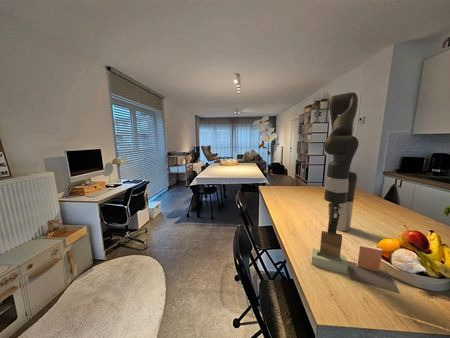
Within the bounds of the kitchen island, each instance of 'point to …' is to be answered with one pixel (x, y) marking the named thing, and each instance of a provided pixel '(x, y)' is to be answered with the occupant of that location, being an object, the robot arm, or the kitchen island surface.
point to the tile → (369, 257)
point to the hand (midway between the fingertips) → (331, 231)
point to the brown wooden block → (331, 243)
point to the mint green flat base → (329, 261)
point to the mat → (372, 277)
